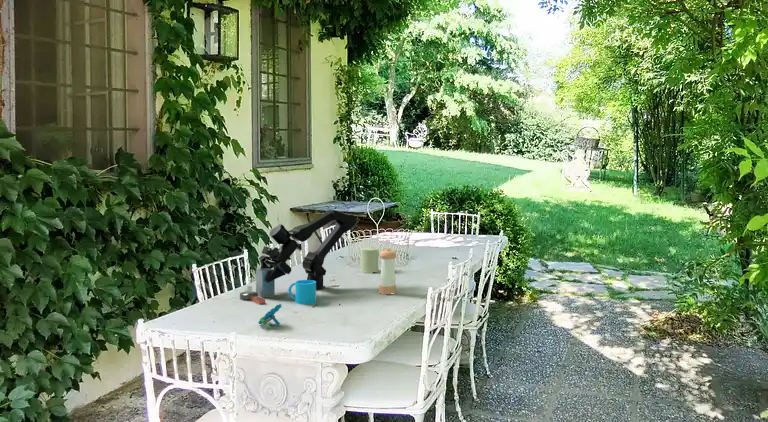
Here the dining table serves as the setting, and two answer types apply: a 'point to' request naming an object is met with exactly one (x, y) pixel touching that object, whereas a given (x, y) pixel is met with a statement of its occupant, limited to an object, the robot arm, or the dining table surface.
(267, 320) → the teal plastic angular piece
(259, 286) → the grey blue box
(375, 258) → the can
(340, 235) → the robot arm
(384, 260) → the salt shaker
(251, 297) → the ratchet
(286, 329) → the dining table surface
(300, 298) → the mug
